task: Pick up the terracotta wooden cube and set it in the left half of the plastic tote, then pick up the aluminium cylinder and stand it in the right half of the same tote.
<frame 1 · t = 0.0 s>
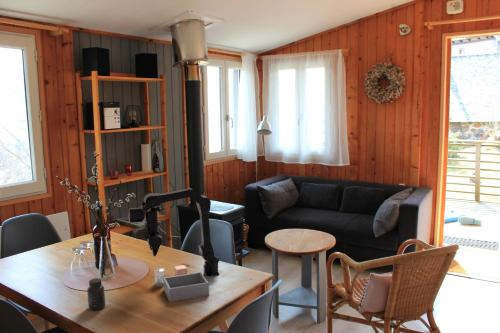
hand: (153, 252, 209), 15 cm above the table, tool pointing down, fingers open, 9 cm apart
tote: (186, 292, 199), on the table
aluminium cylinder: (160, 284, 209), on the table
terracotta cube: (181, 277, 217), on the table
supplement bottle: (97, 307, 185), on the table
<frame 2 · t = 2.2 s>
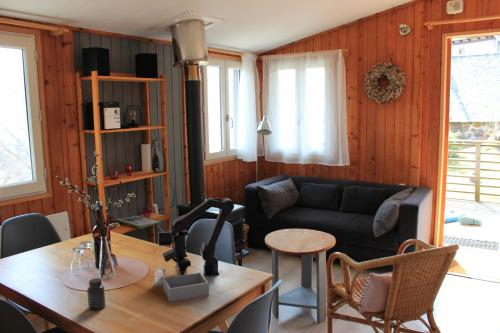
hand: (180, 274, 217), 1 cm above the table, tool pointing down, fingers closed on terracotta cube, 5 cm apart
terracotta cube: (181, 276, 217), on the table, touching gripper
everything else where it was.
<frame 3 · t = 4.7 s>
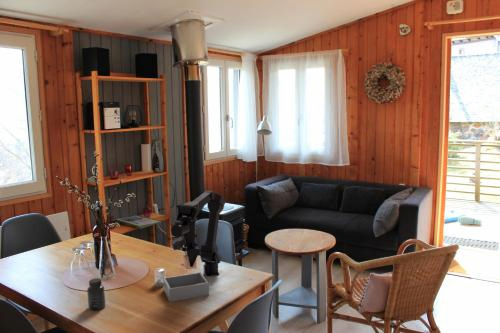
hand: (190, 264, 202), 11 cm above the table, tool pointing down, fingers closed on terracotta cube, 5 cm apart
terracotta cube: (190, 267, 202), point 10 cm above the table, touching gripper
everything else where it was.
when the fingers open (3 cm above the table, at t = 7.0 s): terracotta cube drops 1 cm, resting on tote.
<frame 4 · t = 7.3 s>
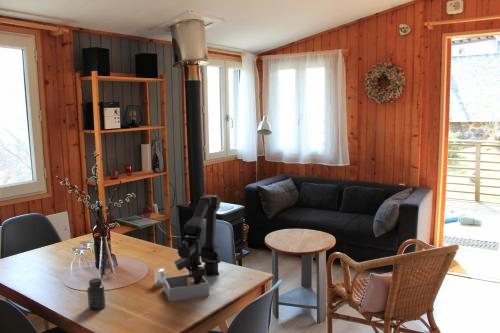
hand: (194, 284, 200), 3 cm above the table, tool pointing down, fingers open, 7 cm apart
terracotta cube: (194, 289, 200), point 1 cm above the table, touching tote
everything else where it was.
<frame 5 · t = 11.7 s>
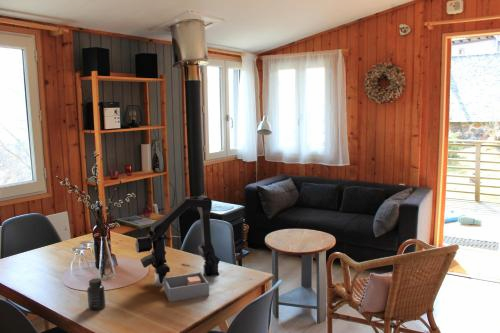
hand: (160, 281, 209), 2 cm above the table, tool pointing down, fingers closed on aluminium cylinder, 5 cm apart
aluminium cylinder: (160, 284, 209), on the table, touching gripper
everything else where it was.
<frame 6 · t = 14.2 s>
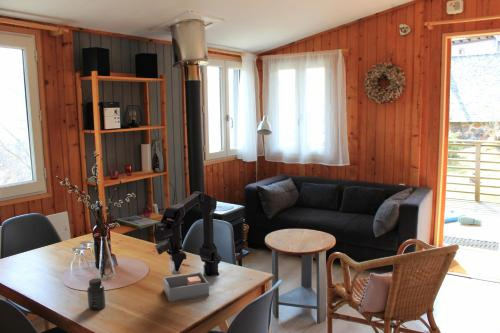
hand: (175, 269, 196), 12 cm above the table, tool pointing down, fingers closed on aluminium cylinder, 5 cm apart
aluminium cylinder: (175, 272, 196), point 10 cm above the table, touching gripper
everything else where it was.
when the fingers open (4 cm above the table, at t = 16.5 s): aluminium cylinder drops 1 cm, resting on tote.
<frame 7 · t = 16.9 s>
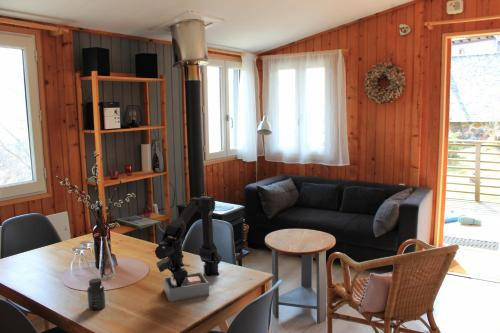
hand: (176, 285, 197), 4 cm above the table, tool pointing down, fingers open, 7 cm apart
aluminium cylinder: (176, 292, 198), point 1 cm above the table, touching tote
everything else where it was.
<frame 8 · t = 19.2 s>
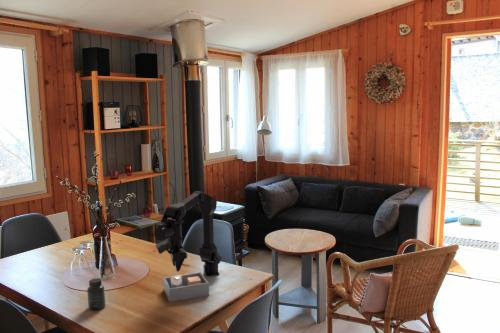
hand: (176, 268, 196), 12 cm above the table, tool pointing down, fingers open, 7 cm apart
nothing on the table moved.
at the end: terracotta cube inside the target area on the tote (3.9 cm from its centre), point 0.8 cm above the tote's base; aluminium cylinder inside the target area on the tote (4.1 cm from its centre), point 0.8 cm above the tote's base; aluminium cylinder tilted 1° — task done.
